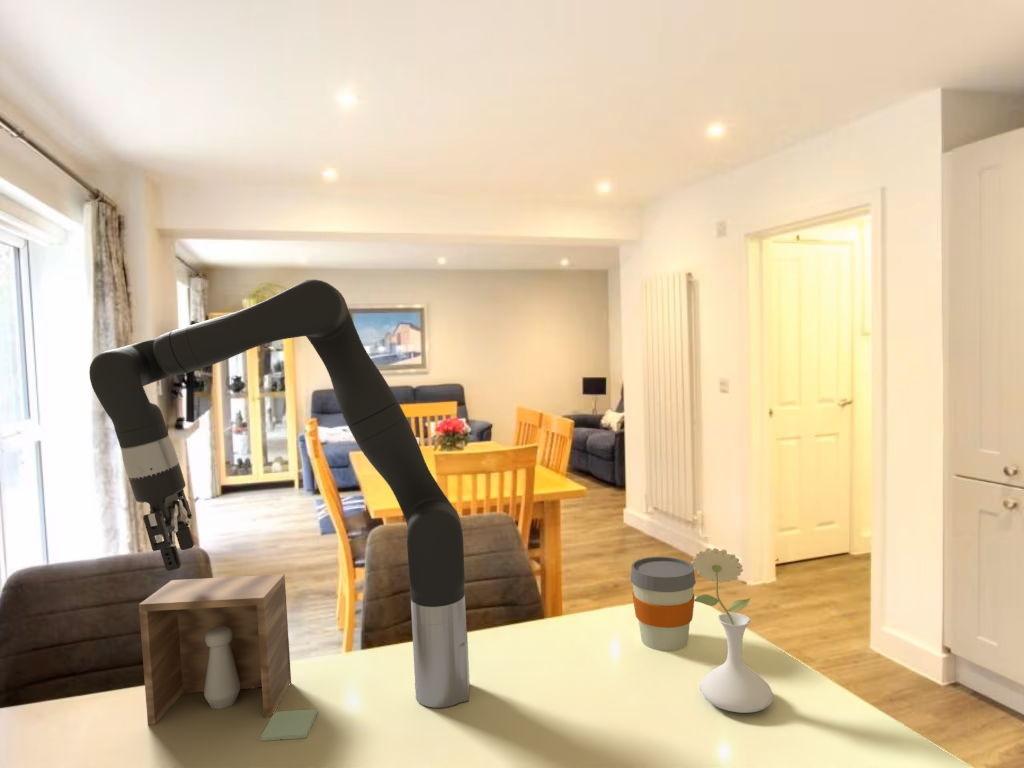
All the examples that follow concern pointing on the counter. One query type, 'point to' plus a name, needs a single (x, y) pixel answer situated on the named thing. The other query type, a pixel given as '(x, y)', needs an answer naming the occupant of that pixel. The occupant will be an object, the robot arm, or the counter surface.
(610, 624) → the counter surface
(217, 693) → the salt shaker
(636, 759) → the counter surface
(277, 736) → the mat
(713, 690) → the flower in vase
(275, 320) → the robot arm
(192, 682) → the cubby
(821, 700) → the counter surface
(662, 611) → the reusable coffee cup
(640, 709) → the counter surface
